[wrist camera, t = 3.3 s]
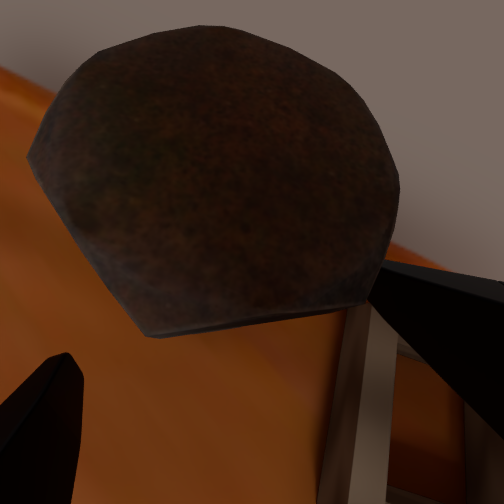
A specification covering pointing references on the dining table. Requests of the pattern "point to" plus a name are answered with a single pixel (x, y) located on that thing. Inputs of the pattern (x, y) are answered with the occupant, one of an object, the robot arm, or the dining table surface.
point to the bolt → (218, 180)
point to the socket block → (388, 424)
